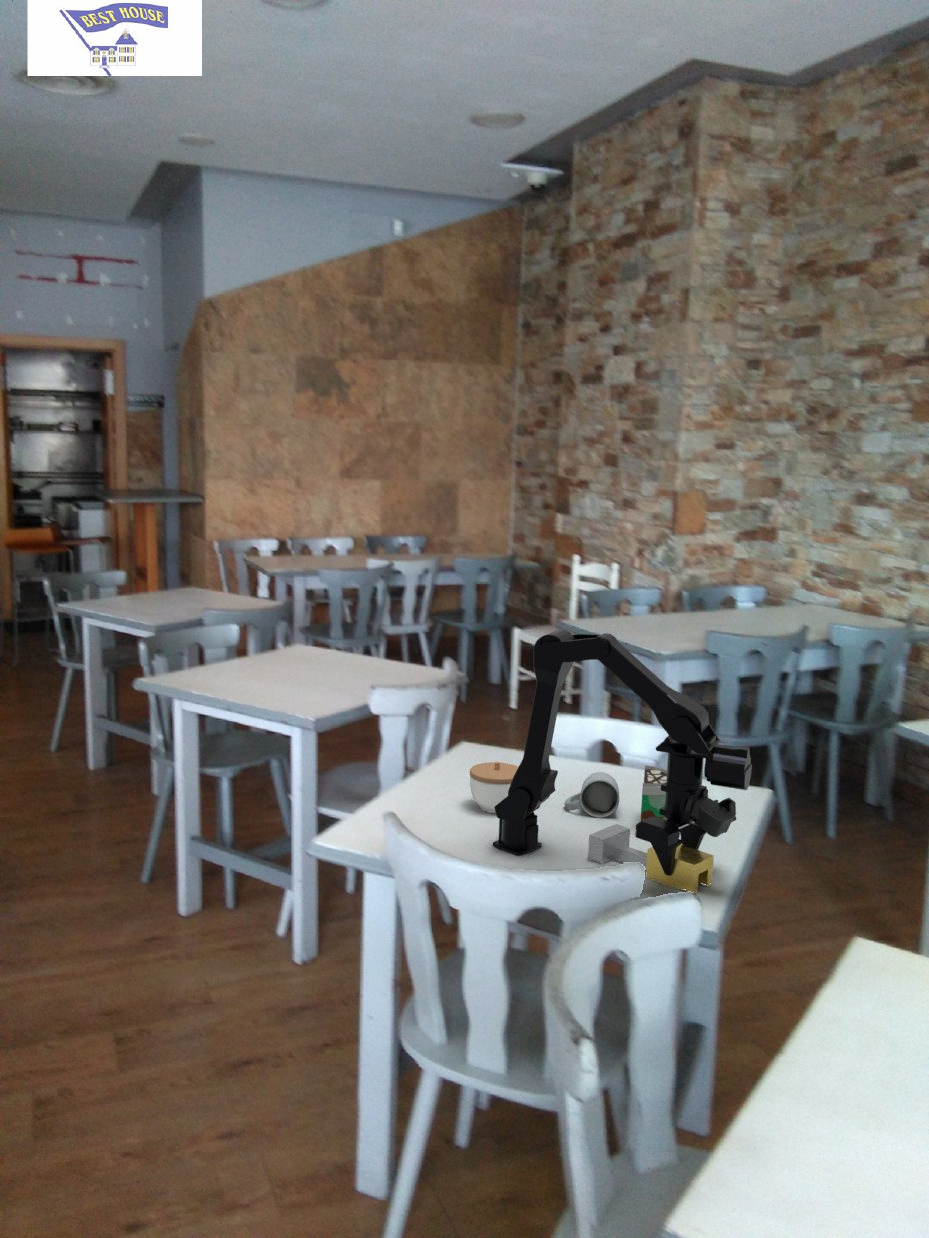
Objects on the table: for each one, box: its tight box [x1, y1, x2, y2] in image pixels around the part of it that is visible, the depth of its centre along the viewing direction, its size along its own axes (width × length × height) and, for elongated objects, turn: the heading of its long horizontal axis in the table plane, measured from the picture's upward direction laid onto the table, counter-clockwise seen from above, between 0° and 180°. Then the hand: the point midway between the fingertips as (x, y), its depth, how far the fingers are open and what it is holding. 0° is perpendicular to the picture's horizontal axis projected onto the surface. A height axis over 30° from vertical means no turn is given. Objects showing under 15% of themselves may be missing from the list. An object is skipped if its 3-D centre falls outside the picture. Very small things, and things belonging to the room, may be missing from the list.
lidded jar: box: [469, 761, 519, 814], centre depth 206 cm, size 11×11×9 cm
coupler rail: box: [587, 823, 647, 868], centre depth 182 cm, size 10×8×4 cm
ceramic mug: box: [563, 771, 620, 819], centre depth 206 cm, size 11×8×8 cm
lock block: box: [645, 844, 715, 894], centre depth 174 cm, size 9×6×5 cm, turn 46°
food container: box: [640, 764, 667, 821], centre depth 199 cm, size 12×6×10 cm, turn 168°
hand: (678, 869), depth 175 cm, fingers closed on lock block, 6 cm apart
